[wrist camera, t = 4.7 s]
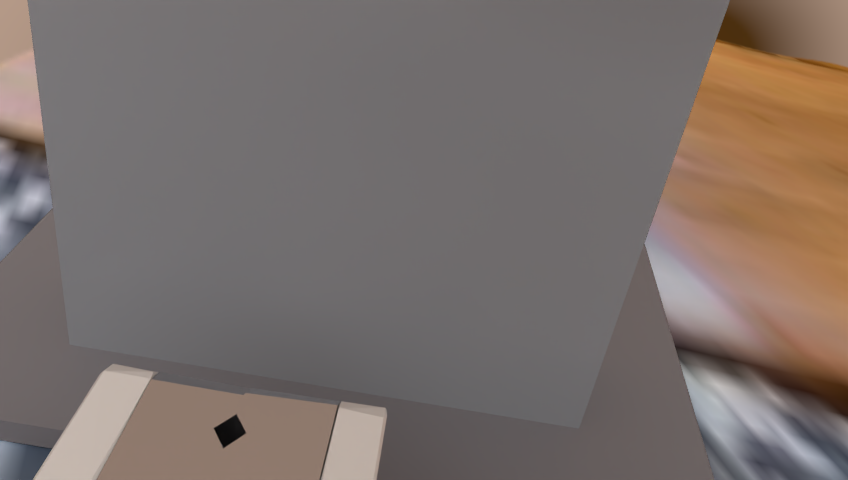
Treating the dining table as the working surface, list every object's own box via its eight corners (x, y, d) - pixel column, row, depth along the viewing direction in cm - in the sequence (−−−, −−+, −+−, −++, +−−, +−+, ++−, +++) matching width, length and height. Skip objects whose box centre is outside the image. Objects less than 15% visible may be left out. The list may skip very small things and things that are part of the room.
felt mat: (615, 171, 32) (619, 158, 32) (722, 557, 17) (732, 540, 16) (173, 97, 32) (173, 83, 31) (-126, 419, 17) (-132, 398, 16)
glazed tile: (568, 345, 21) (726, -149, 15) (579, 428, 18) (774, -128, 12) (121, 271, 21) (84, -260, 15) (69, 344, 18) (-4, -262, 12)
